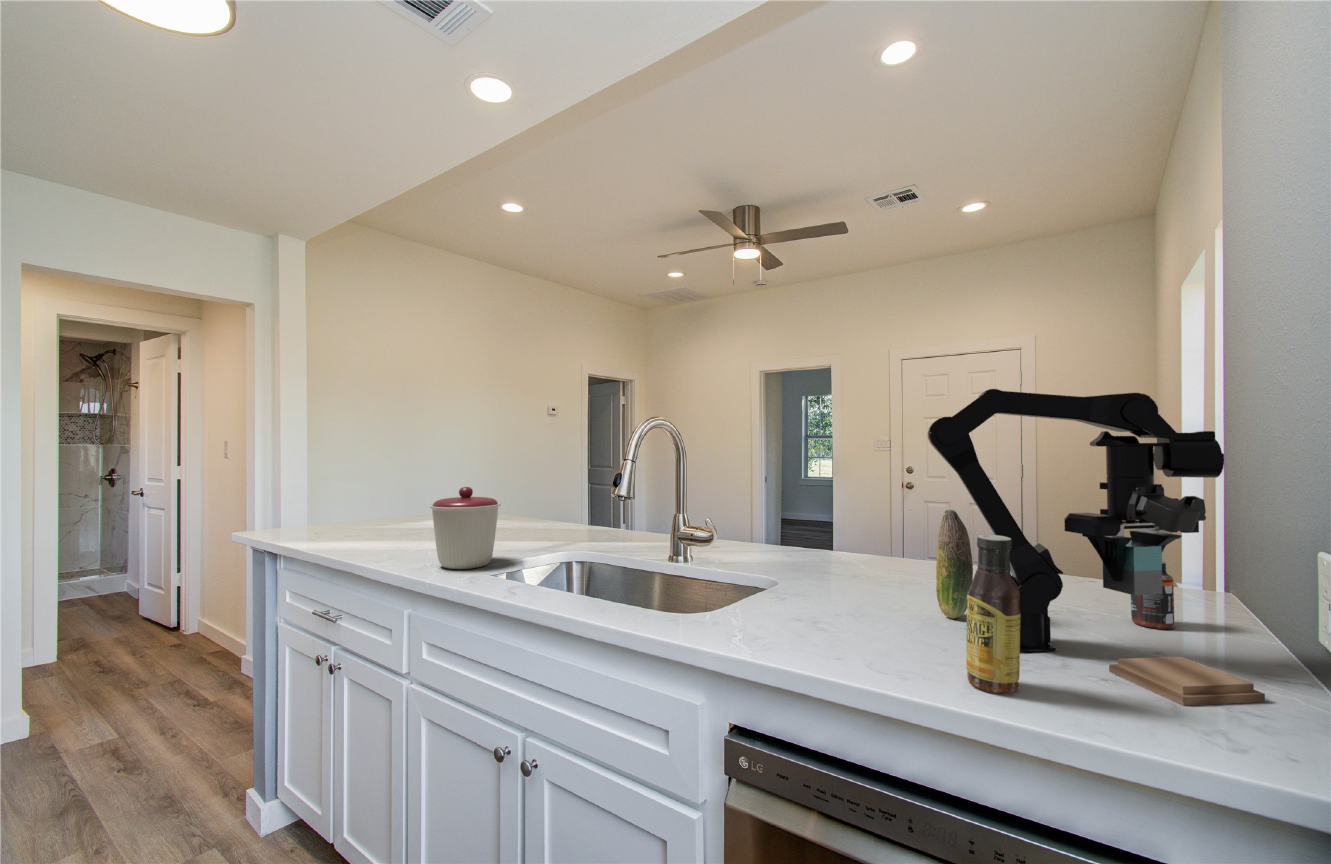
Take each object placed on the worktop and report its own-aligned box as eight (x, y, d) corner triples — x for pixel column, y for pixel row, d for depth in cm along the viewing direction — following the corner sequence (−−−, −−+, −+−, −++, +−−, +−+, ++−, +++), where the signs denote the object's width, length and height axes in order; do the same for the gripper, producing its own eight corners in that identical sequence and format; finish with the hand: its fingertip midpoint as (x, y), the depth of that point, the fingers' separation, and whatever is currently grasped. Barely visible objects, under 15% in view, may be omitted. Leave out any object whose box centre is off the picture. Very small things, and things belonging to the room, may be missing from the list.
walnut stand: (1183, 705, 73) (1183, 688, 73) (1109, 671, 84) (1108, 657, 84) (1265, 701, 74) (1264, 685, 74) (1181, 668, 85) (1180, 654, 85)
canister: (450, 576, 147) (450, 490, 147) (416, 566, 159) (417, 487, 160) (513, 565, 160) (514, 486, 161) (478, 557, 172) (479, 483, 173)
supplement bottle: (1182, 631, 102) (1181, 564, 103) (1143, 629, 103) (1141, 563, 104) (1161, 621, 108) (1160, 558, 108) (1124, 619, 109) (1123, 557, 110)
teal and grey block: (1134, 595, 87) (1133, 547, 87) (1103, 587, 92) (1102, 541, 92) (1162, 593, 88) (1161, 546, 88) (1129, 585, 93) (1128, 540, 93)
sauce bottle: (956, 678, 82) (954, 532, 82) (1000, 676, 83) (997, 532, 83) (986, 698, 75) (984, 540, 76) (1033, 696, 76) (1030, 539, 76)
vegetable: (932, 611, 115) (931, 507, 115) (967, 613, 113) (966, 507, 114) (940, 620, 109) (938, 510, 109) (977, 622, 107) (976, 511, 108)
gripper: (1131, 480, 81) (1133, 597, 80) (1238, 478, 85) (1241, 589, 84) (1060, 476, 92) (1062, 578, 91) (1158, 474, 95) (1160, 573, 95)
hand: (1131, 580), depth 90 cm, fingers closed on teal and grey block, 5 cm apart
